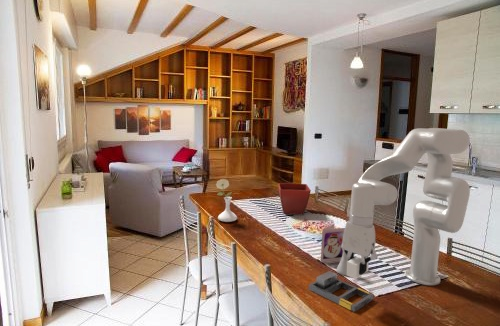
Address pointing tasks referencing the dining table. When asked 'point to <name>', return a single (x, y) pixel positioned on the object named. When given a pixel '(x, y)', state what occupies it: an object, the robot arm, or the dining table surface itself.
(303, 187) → the plant pot
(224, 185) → the flower in vase
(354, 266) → the white block
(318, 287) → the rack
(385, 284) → the dining table surface
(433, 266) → the robot arm
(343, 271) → the flask
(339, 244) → the greeting card
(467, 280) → the dining table surface
